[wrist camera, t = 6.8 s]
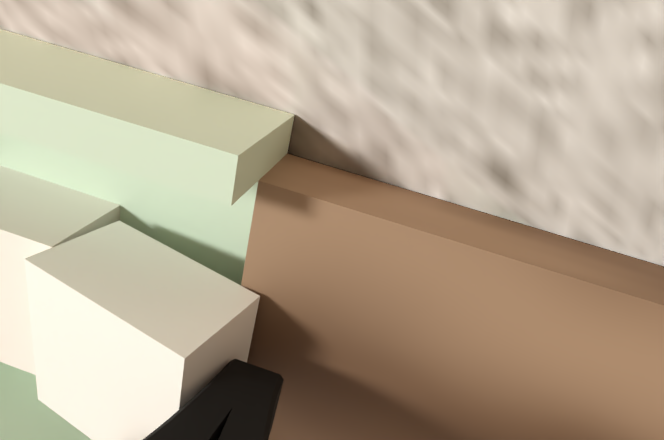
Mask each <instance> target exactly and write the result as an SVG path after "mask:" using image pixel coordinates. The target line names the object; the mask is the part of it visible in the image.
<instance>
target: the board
mask: <svg viewBox="0 0 664 440" xmlns="http://www.w3.org/2000/svg"><path fill="white" fill-rule="evenodd" d="M241 286H243V287H244V288H246V289H248V290H250V291H252V292H254V293H256V294H257V295H259V296H260V300H259V305H258V310H257V315H256V320H255V325H254V330H253V334H252V339H251V344H250V349H249V354H248V359H247V363H249V364H252V365H255V366H258V367H261V368H264V369H267V370H269V371H272V372H275V373H278V374H280V375H281V376H282V378H283V379H284V381H283V385H282V389H281V393H280V397H279V401H278V405H277V409H276V413H275V417H274V421H273V425H272V429H271V432H270V435H269V439H268V440H664V267H663V266H660V265H656V264H653V263H650V262H646V261H643V260H640V259H636V258H633V257H630V256H626V255H623V254H620V253H616V252H613V251H610V250H606V249H603V248H600V247H596V246H593V245H590V244H586V243H583V242H580V241H576V240H573V239H570V238H566V237H563V236H560V235H556V234H553V233H550V232H546V231H543V230H540V229H537V228H533V227H530V226H527V225H523V224H520V223H517V222H513V221H510V220H507V219H503V218H500V217H497V216H493V215H490V214H487V213H483V212H480V211H477V210H473V209H470V208H467V207H463V206H460V205H457V204H453V203H450V202H447V201H443V200H440V199H437V198H433V197H430V196H427V195H423V194H420V193H417V192H413V191H410V190H407V189H403V188H400V187H397V186H393V185H390V184H387V183H383V182H380V181H377V180H374V179H370V178H367V177H364V176H360V175H357V174H354V173H350V172H347V171H344V170H340V169H337V168H334V167H330V166H327V165H324V164H320V163H317V162H314V161H310V160H307V159H304V158H300V157H297V156H294V155H290V154H286V155H285V156H284V157H283V158H282V159H281V160H280V161H279V162H278V163H277V164H276V165H275V166H274V167H272V168H271V169H270V170H269V171H268V172H267V173H266V174H265V175H264V176H263V177H262V178H261V179H260V180H259V181H258V187H257V193H256V199H255V205H254V211H253V217H252V222H251V228H250V234H249V240H248V246H247V252H246V258H245V264H244V270H243V276H242V282H241Z"/></svg>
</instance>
